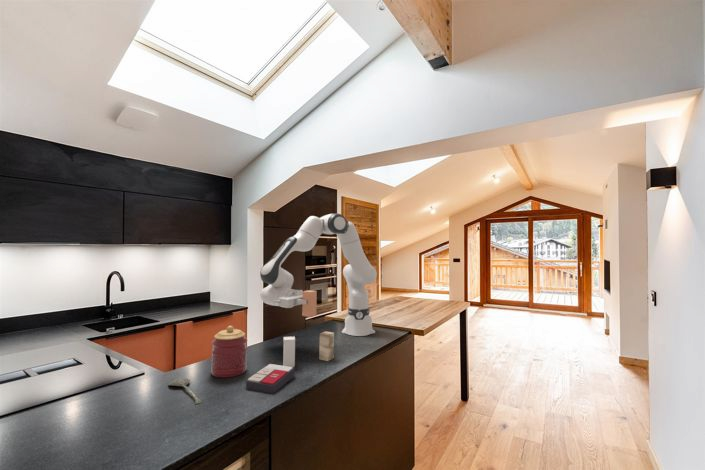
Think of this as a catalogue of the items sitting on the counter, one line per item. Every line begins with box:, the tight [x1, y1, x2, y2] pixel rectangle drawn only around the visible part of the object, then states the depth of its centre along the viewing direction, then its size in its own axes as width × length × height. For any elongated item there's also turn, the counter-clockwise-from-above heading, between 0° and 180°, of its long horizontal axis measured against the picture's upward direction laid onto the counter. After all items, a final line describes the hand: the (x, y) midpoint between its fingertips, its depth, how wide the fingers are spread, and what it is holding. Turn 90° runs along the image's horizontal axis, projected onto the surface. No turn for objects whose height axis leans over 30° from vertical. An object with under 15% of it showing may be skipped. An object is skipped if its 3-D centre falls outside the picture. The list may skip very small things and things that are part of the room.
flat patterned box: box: [245, 363, 295, 394], centre depth 119 cm, size 11×4×15 cm
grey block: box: [282, 335, 296, 368], centre depth 136 cm, size 4×4×11 cm
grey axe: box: [168, 377, 202, 405], centre depth 110 cm, size 22×3×7 cm
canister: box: [210, 325, 248, 379], centre depth 128 cm, size 13×13×18 cm
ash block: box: [318, 331, 335, 362], centre depth 144 cm, size 4×4×11 cm
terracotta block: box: [301, 289, 318, 318], centre depth 150 cm, size 4×4×11 cm
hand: (311, 301), depth 150 cm, fingers closed on terracotta block, 4 cm apart
